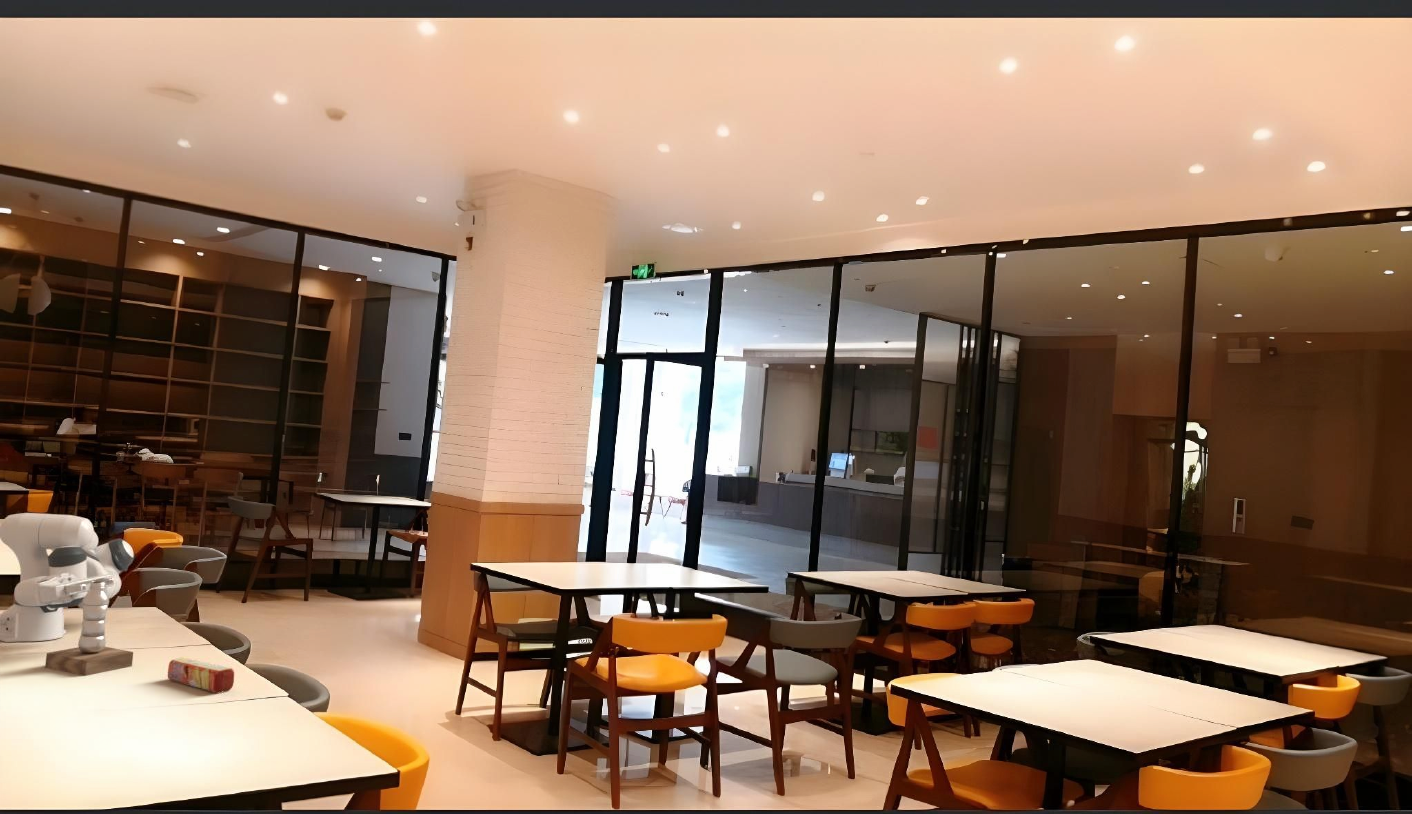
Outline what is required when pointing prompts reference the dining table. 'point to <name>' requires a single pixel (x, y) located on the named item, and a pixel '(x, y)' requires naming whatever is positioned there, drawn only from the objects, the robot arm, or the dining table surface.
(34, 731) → the dining table surface
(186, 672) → the snack package
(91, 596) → the plastic bottle
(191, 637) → the dining table surface
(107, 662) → the walnut stand
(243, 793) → the dining table surface
